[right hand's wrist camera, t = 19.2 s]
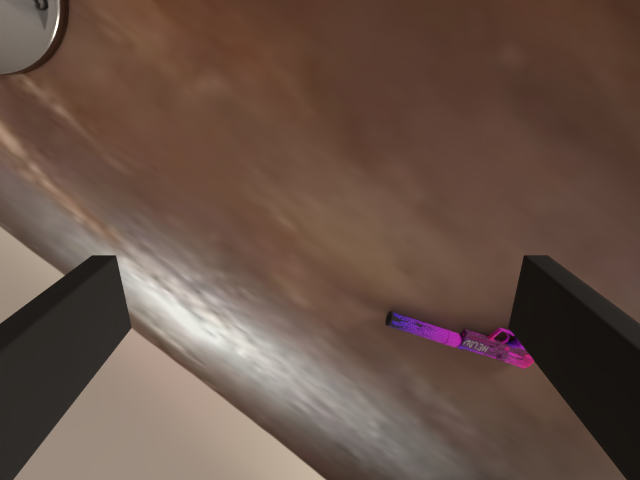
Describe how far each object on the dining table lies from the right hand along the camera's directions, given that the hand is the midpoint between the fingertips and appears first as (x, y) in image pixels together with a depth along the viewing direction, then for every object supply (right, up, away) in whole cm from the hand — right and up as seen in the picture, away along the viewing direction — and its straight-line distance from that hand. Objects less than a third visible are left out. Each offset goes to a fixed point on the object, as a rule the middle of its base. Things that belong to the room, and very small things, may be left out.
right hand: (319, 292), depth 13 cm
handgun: (+20, -9, +37) cm, 43 cm away
